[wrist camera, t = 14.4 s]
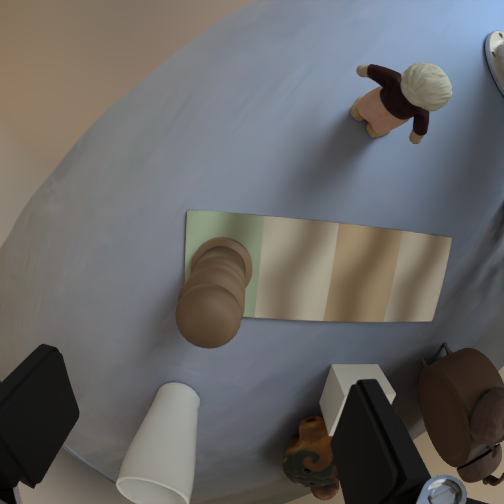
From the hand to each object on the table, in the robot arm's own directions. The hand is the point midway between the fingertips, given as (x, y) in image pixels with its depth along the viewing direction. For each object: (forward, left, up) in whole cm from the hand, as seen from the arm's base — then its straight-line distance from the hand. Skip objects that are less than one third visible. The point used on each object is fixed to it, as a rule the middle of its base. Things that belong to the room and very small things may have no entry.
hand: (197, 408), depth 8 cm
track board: (-10, +2, -21) cm, 23 cm away
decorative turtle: (-13, +26, -21) cm, 35 cm away
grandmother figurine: (-12, -14, -21) cm, 28 cm away
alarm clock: (-28, +15, -21) cm, 38 cm away
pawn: (+1, +2, -20) cm, 20 cm away
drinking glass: (+5, +19, -21) cm, 28 cm away
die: (-15, +15, -21) cm, 30 cm away
